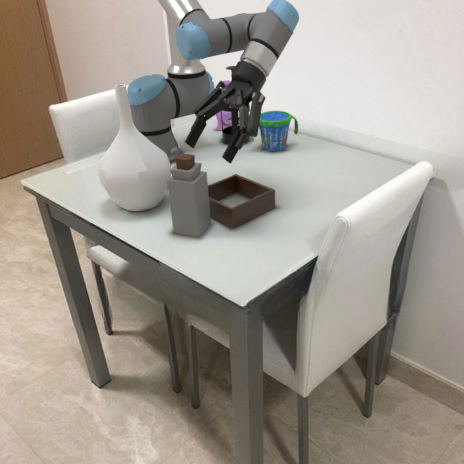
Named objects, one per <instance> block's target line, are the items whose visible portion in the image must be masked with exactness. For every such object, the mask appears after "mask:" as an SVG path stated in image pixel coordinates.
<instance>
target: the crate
mask: <svg viewBox="0 0 464 464" xmlns="http://www.w3.org/2000/svg"><path fill="white" fill-rule="evenodd" d="M208 194H209V206H210V218H211V219H213V220H215V221H217V222H218V223H219V222H220V223H221V224H223V225H225V226H227V227H229V228H231V229H235V228H237V227H239V226H241V225H243V224H244V223H247V222H249V221H251V220H254V219H255V218H257V217H259V216H261V215H263V214H265V213H267V212H270V211H272V210H274V209H275V208H276V189H275V188H272V187H270V186H267V185H264V184H261V183H259V182H257V181H254V180H252V179H250V178H248V177H245V176H242V175H240V174H237V173H234V174H233V175H230V176H227V177H225V178H223V179H220V180H218V181H216V182H213V183H211V184H208ZM235 194H238V195H240V196H243V197H245V198H247V199H248V200H246V201H243V202H241V203H239V204H237V205H235V206H233V207H232V206H229V205H228V204H225V203H223V202H222V201H221V200H224V199H226V198H228V197H231V196H233V195H235Z"/></svg>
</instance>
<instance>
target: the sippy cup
mask: <svg viewBox="0 0 464 464" xmlns="http://www.w3.org/2000/svg"><path fill="white" fill-rule="evenodd" d="M292 119H293V120H294V130H293V133H294V135H296V136H297V135H298V134H299V122H298V120H297V119H298V118H296V117H295V116H294V115H292V114H291V113H289V112H287V111H284V110H267V111H264V112H261V116H260V123H259V132H260V139H261V140H260V141H261V145H262V148H263V150H266V151H268V152H279V151H282V150H284V149H286V146H287V144H288V136H289V132H290V131H289V130H290V124H291V122H292ZM250 141H252V142H254V137H253V136H250Z"/></svg>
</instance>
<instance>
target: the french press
mask: <svg viewBox="0 0 464 464" xmlns="http://www.w3.org/2000/svg"><path fill="white" fill-rule="evenodd" d="M235 66H236V65H229V66H226V67H225V69H226V70H228V71H230V73H231V74H232V72H233V70H234V68H235ZM231 74H230V75H231ZM223 111H227V112H231V117H230V118H226V119H224V120H223V121H222V111H221V122H223V123H222V130H221V137H222V138H221V142H222V143H223V144H224V145H227V146H228V145H229V143H230V141H231V140H232V138H233V136H234V134H235V132H236V131H239V130H240V129H239V128H240V121H239V109H237V108H231V107H229V108H225V109H223ZM223 125H225V126H229V127H226V128H224V129H223ZM238 129H239V130H238ZM239 132H240V131H239ZM240 133H241V132H240ZM250 141H251V137H249V138H247V139H246V141H245V143H244V144H247V143H249V142H250Z"/></svg>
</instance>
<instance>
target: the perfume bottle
mask: <svg viewBox="0 0 464 464" xmlns="http://www.w3.org/2000/svg"><path fill="white" fill-rule="evenodd" d="M195 159H196V157H195V154H192V153H181V152H180V155H179V156H178V157H176V158H175V161H174V162H175V165H173V166H172V167H171V169H170V172H171V177H170V178H169V179H168V180H167V186H168V190H167V193H168V200H169V207H170V215H171V222H172V229H173V234H178V235H184V236H189V237H195V238H200V237H201V236H202V235H203V234H204V232H205V231H206V230H207V229H208V228H209V227H210V226H211V224H212V218H211V217H210V206H209V194H208V185H209V184H208V183H209V182H208V172H207V171H204V170H203V171H202V166H203V163H202V162H196V161H195Z"/></svg>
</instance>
